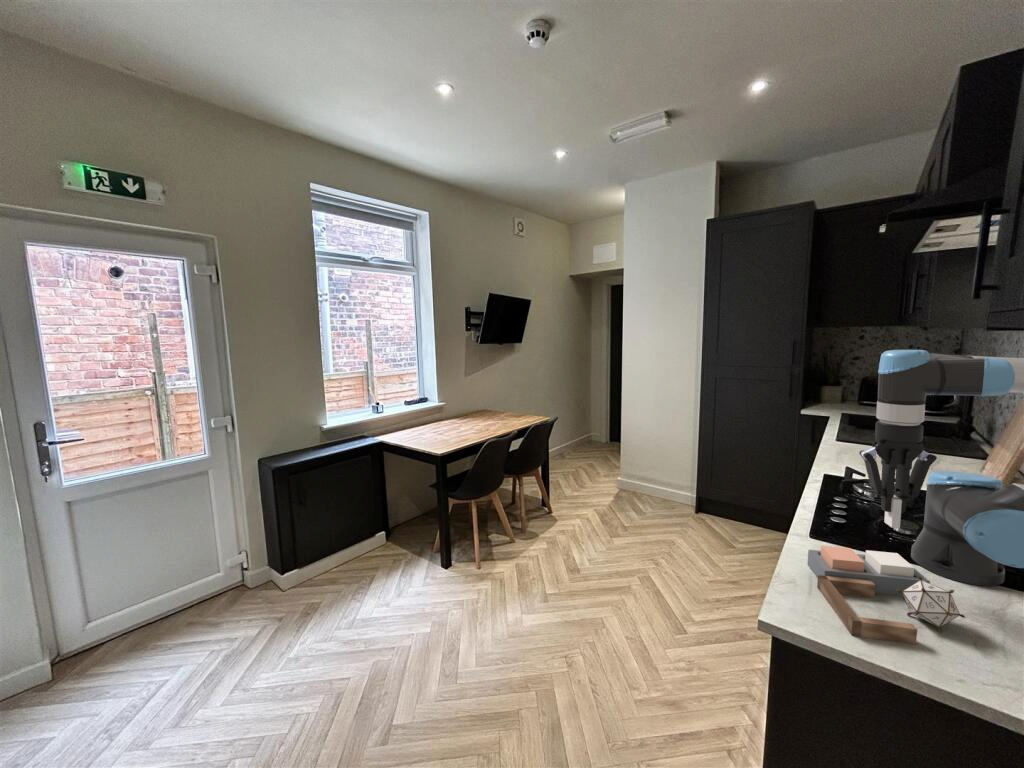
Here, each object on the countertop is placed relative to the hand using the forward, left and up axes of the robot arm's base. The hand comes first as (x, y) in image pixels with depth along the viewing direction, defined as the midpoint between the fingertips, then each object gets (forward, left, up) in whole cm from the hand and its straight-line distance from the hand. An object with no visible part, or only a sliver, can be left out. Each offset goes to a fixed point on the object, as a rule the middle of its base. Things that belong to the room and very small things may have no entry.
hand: (891, 524), depth 91 cm
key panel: (+4, 0, -14) cm, 15 cm away
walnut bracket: (+10, +12, -14) cm, 21 cm away
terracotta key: (+9, 0, -11) cm, 14 cm away
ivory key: (0, 0, -11) cm, 11 cm away
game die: (-1, +12, -14) cm, 19 cm away
